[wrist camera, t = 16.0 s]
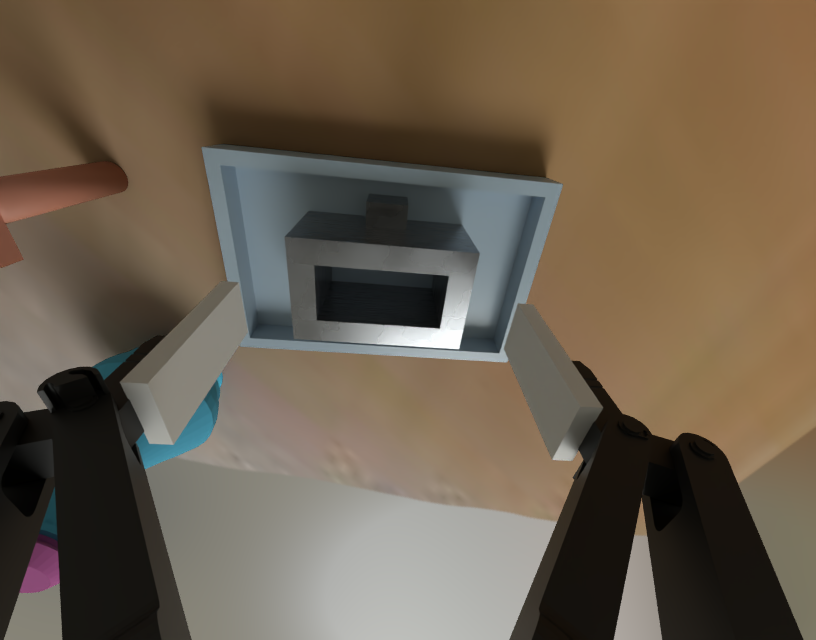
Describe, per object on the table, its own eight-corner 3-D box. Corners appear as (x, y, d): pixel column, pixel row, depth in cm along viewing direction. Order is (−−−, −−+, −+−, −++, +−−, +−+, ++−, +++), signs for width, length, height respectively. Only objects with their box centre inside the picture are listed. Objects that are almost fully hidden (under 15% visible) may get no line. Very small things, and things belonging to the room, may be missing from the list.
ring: (313, 296, 25) (293, 339, 20) (307, 187, 21) (281, 208, 16) (447, 306, 26) (459, 349, 21) (465, 202, 22) (485, 226, 17)
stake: (87, 150, 20) (-93, 169, 13) (119, 153, 20) (-41, 174, 13) (109, 215, 22) (-35, 265, 15) (139, 217, 22) (11, 268, 15)
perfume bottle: (96, 358, 28) (-162, 567, 15) (171, 304, 25) (-57, 496, 13) (189, 423, 32) (50, 629, 19) (260, 381, 30) (157, 585, 17)
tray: (222, 143, 20) (201, 147, 18) (546, 177, 22) (563, 184, 19) (252, 328, 27) (239, 346, 24) (498, 343, 28) (507, 362, 26)
